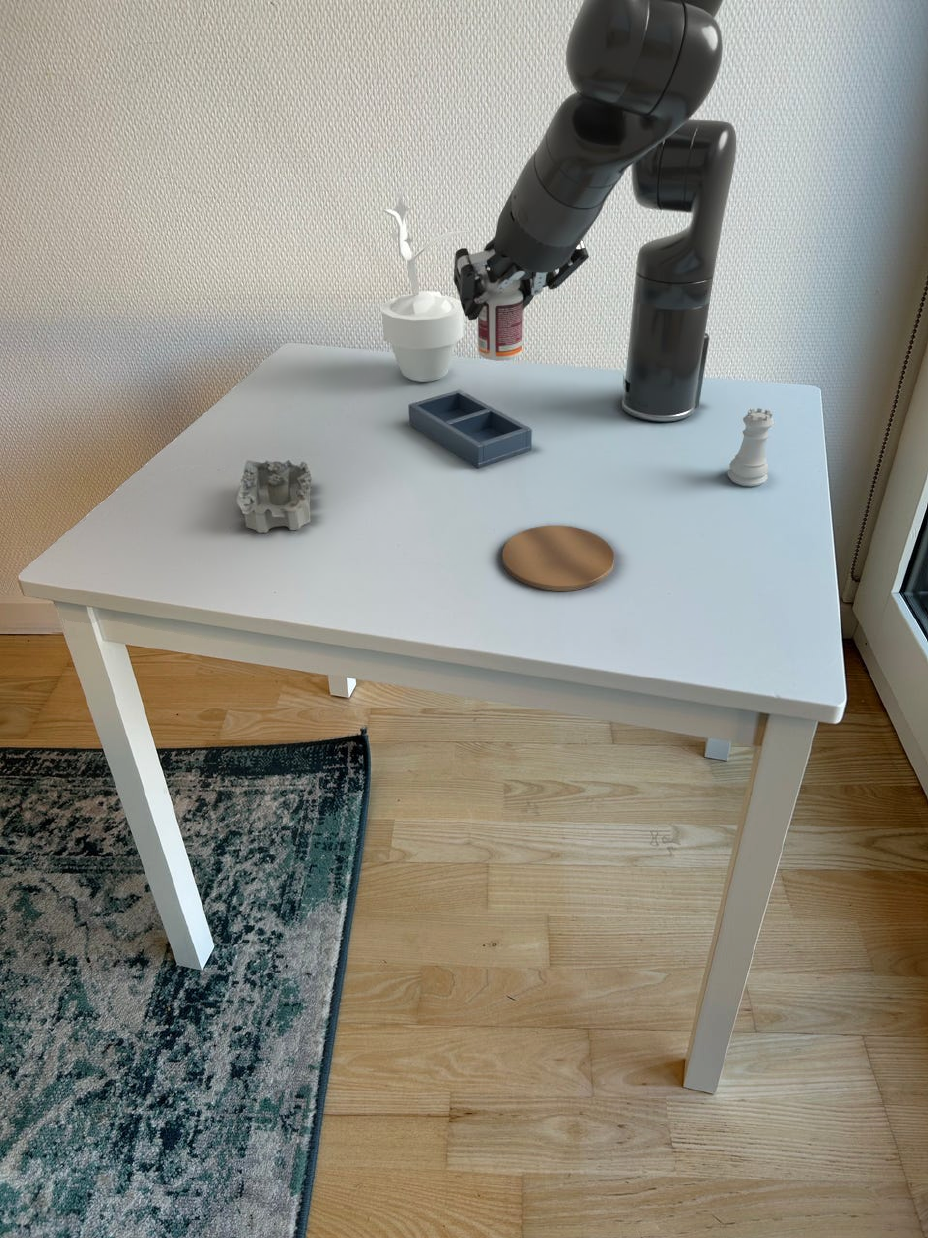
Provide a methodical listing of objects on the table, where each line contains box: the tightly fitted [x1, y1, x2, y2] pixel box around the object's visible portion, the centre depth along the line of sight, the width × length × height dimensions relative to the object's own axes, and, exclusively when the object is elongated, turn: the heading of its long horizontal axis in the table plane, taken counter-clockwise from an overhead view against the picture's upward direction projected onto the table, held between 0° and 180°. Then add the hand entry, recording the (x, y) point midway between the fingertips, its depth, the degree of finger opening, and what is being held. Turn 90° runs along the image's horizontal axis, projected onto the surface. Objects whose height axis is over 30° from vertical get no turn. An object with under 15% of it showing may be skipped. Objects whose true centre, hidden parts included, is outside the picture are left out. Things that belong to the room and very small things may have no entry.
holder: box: [407, 389, 533, 469], centre depth 107 cm, size 8×15×3 cm, turn 35°
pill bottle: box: [477, 279, 524, 362], centre depth 90 cm, size 5×5×8 cm
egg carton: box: [236, 459, 312, 534], centre depth 93 cm, size 11×8×4 cm
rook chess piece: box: [727, 407, 775, 488], centre depth 96 cm, size 4×4×8 cm
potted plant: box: [380, 193, 472, 383], centre depth 117 cm, size 13×12×25 cm
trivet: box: [501, 525, 615, 592], centre depth 85 cm, size 11×11×1 cm
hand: (492, 307), depth 91 cm, fingers closed on pill bottle, 4 cm apart
